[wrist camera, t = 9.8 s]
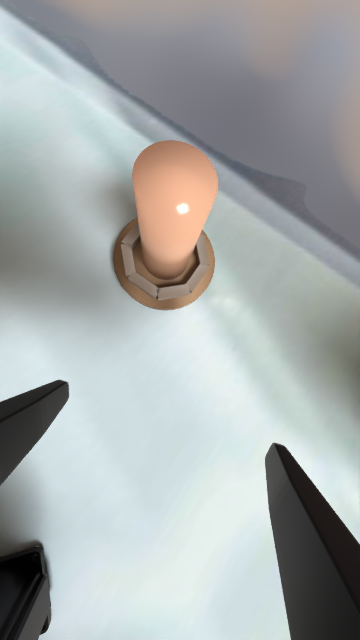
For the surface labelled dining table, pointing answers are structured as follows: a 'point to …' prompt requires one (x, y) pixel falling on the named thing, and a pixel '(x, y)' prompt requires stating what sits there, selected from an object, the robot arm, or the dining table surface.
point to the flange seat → (157, 290)
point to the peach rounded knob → (172, 204)
